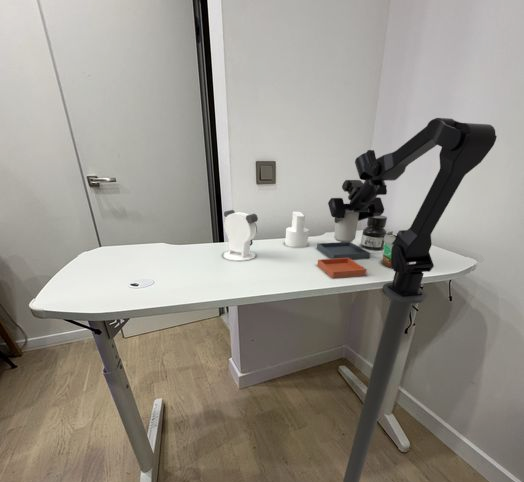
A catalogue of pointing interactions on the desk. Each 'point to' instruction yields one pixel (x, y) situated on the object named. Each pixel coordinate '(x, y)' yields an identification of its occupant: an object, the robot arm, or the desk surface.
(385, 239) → the food container
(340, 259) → the terracotta tray
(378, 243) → the ink bottle
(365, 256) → the grey tray
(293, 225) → the white stepped part
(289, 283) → the desk surface
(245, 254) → the panda figurine
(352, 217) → the can
